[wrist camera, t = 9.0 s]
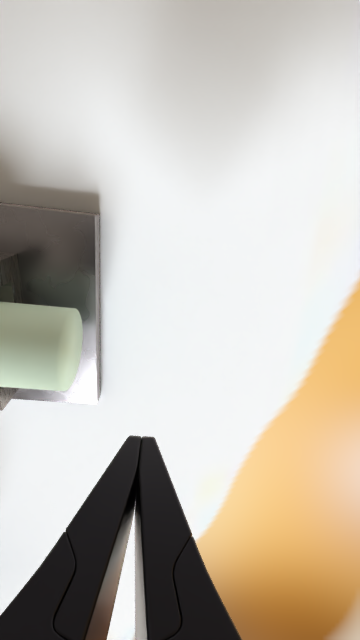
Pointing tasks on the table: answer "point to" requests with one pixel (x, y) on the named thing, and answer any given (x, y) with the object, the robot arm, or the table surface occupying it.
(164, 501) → the robot arm
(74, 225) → the saddle plate
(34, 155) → the table surface
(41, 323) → the tube
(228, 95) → the table surface
